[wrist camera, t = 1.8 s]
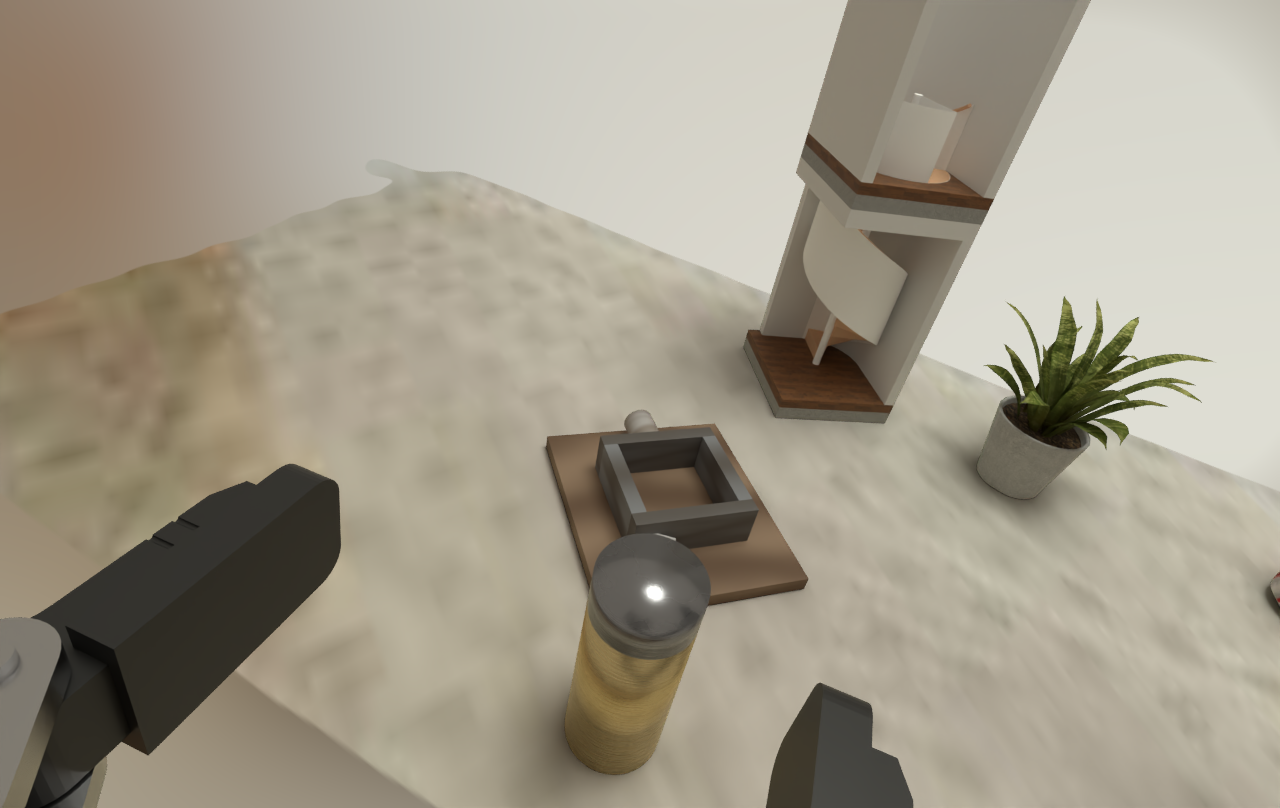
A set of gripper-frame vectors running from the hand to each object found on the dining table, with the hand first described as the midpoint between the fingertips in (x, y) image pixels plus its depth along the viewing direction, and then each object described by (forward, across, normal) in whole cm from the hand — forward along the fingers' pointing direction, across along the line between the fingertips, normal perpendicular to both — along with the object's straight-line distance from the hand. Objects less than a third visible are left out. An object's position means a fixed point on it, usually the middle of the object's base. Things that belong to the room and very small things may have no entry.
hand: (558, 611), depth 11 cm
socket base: (+30, -1, -24) cm, 38 cm away
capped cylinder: (+14, +1, -25) cm, 28 cm away
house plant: (+48, +26, -22) cm, 58 cm away
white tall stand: (+53, +6, -22) cm, 58 cm away
